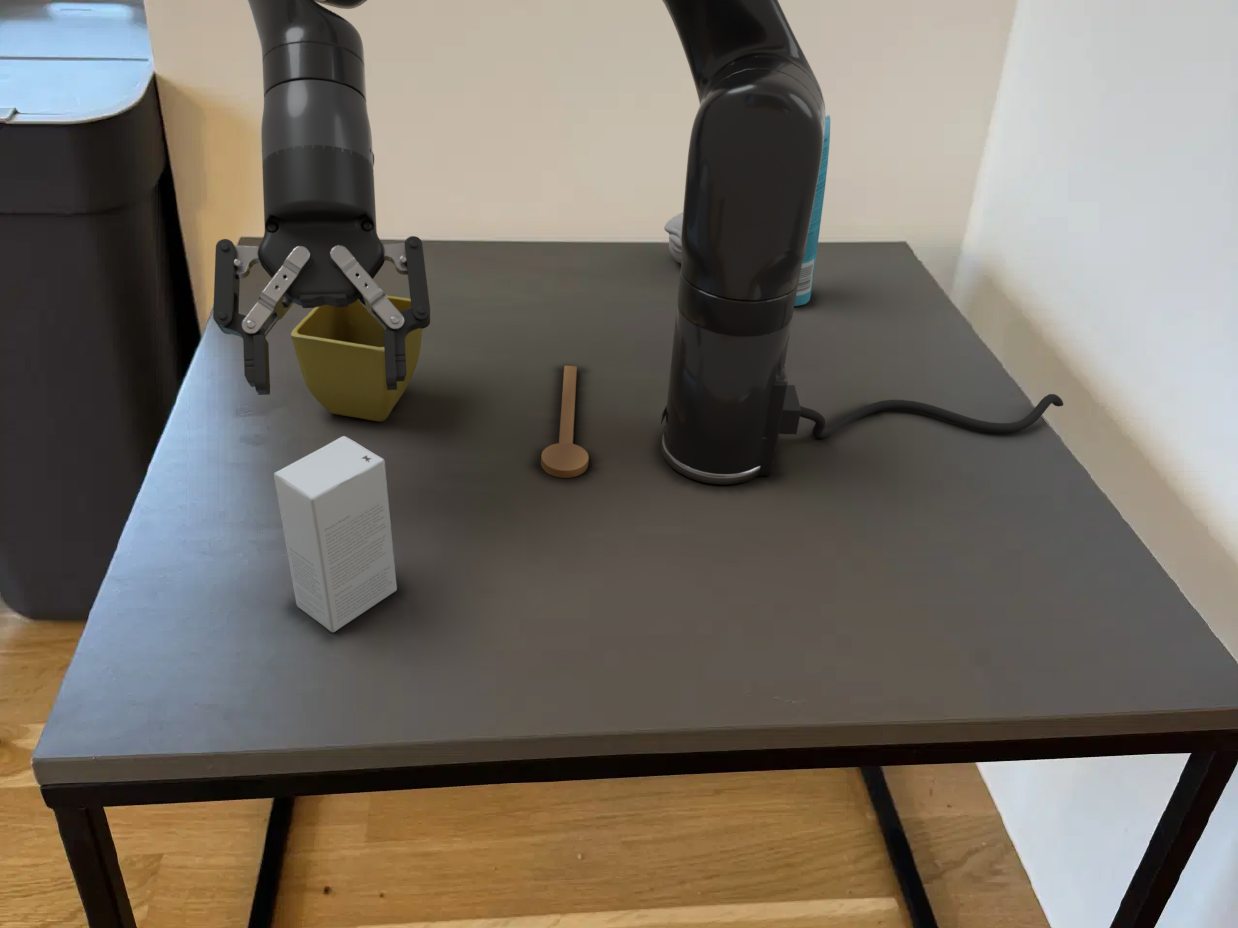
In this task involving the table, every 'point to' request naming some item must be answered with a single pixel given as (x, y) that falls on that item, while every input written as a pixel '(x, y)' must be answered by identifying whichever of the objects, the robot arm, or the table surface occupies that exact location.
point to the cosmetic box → (337, 531)
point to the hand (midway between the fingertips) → (328, 390)
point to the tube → (814, 226)
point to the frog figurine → (675, 236)
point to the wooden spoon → (566, 436)
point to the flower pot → (351, 359)
